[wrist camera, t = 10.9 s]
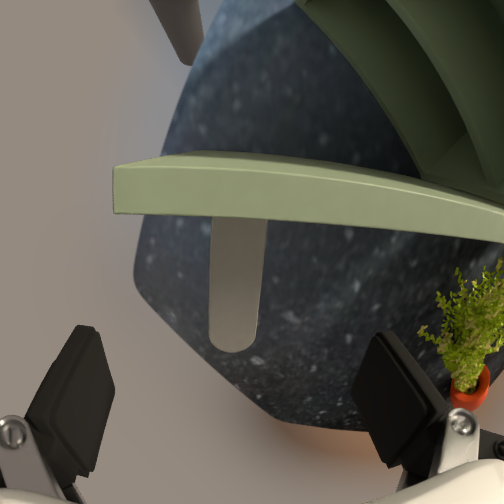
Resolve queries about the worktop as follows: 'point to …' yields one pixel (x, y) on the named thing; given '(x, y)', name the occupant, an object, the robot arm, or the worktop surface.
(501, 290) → the potted plant
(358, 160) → the worktop surface
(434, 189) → the door
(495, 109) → the cabinet
